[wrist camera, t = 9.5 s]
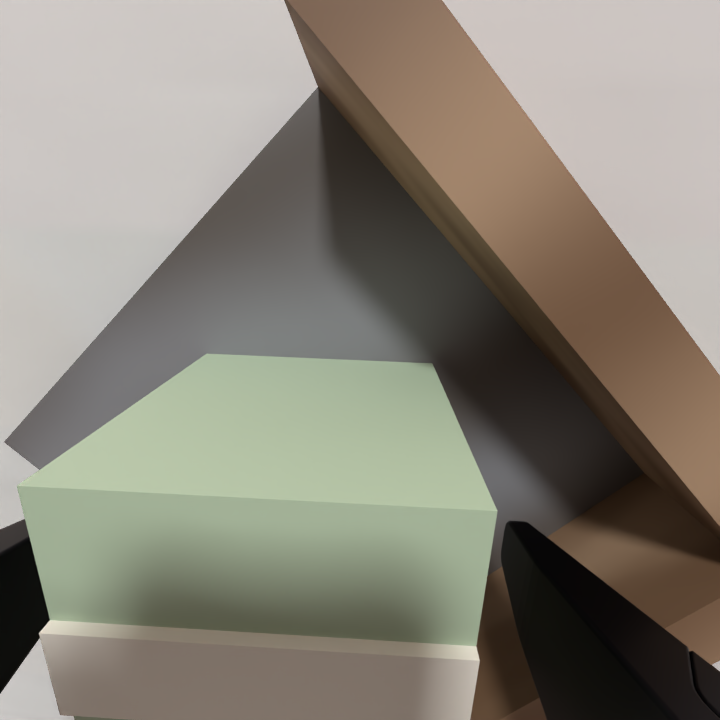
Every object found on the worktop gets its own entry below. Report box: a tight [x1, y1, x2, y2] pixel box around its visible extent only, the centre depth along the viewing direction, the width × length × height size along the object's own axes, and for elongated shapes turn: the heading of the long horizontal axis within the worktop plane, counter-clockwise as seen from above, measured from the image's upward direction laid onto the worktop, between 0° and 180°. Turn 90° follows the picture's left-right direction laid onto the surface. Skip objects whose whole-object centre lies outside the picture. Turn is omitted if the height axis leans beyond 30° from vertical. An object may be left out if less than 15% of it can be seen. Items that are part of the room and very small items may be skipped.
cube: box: [17, 354, 497, 720], centre depth 9 cm, size 6×6×6 cm
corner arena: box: [5, 0, 720, 720], centre depth 10 cm, size 14×14×4 cm
